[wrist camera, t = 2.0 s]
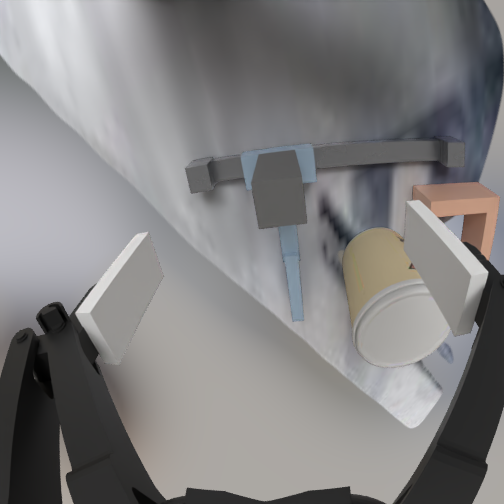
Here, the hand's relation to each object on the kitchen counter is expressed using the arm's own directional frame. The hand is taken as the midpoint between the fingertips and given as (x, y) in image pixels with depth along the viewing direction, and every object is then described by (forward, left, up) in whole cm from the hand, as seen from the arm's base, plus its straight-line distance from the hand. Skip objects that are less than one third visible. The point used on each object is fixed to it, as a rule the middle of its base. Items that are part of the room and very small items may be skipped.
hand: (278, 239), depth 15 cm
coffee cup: (+12, +9, -16) cm, 22 cm away
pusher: (+7, 0, -15) cm, 17 cm away
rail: (0, +5, -16) cm, 17 cm away
